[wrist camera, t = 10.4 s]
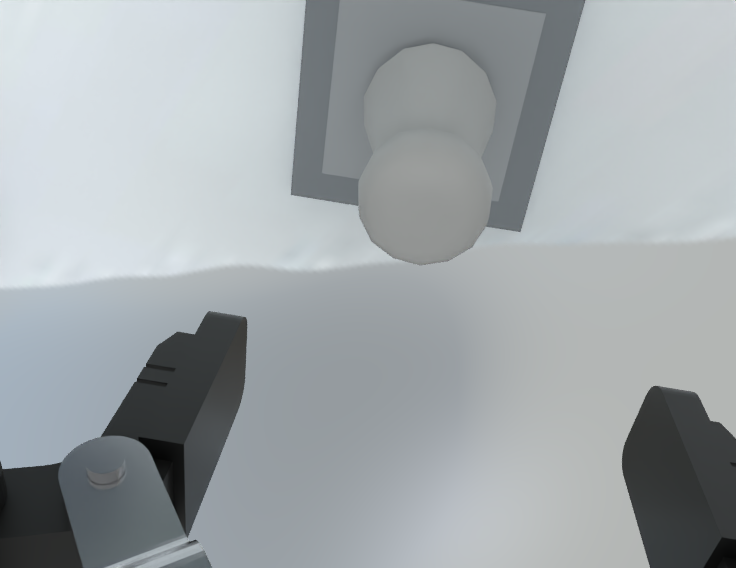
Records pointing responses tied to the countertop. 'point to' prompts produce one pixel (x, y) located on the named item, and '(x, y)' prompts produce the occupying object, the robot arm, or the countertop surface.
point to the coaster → (415, 28)
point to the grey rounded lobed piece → (427, 154)
